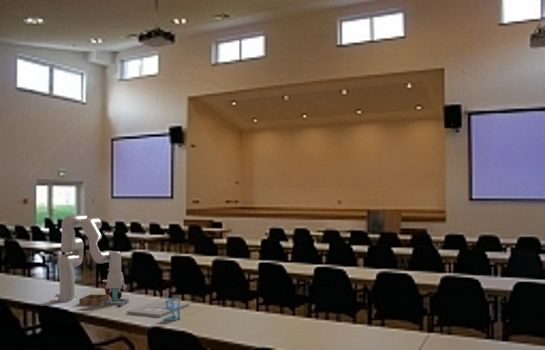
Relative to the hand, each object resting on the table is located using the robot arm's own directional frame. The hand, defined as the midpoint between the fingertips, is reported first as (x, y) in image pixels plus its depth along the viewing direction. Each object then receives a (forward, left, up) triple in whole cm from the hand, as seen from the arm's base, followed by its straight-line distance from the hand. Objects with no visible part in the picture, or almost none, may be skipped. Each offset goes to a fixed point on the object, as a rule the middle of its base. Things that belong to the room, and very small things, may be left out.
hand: (116, 298), depth 345 cm
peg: (0, 0, -2) cm, 2 cm away
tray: (0, 0, -4) cm, 4 cm away
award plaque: (+34, -12, -5) cm, 36 cm away
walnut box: (-15, 0, -4) cm, 16 cm away
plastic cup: (-15, +23, -5) cm, 28 cm away
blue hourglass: (+51, -33, -5) cm, 61 cm away
